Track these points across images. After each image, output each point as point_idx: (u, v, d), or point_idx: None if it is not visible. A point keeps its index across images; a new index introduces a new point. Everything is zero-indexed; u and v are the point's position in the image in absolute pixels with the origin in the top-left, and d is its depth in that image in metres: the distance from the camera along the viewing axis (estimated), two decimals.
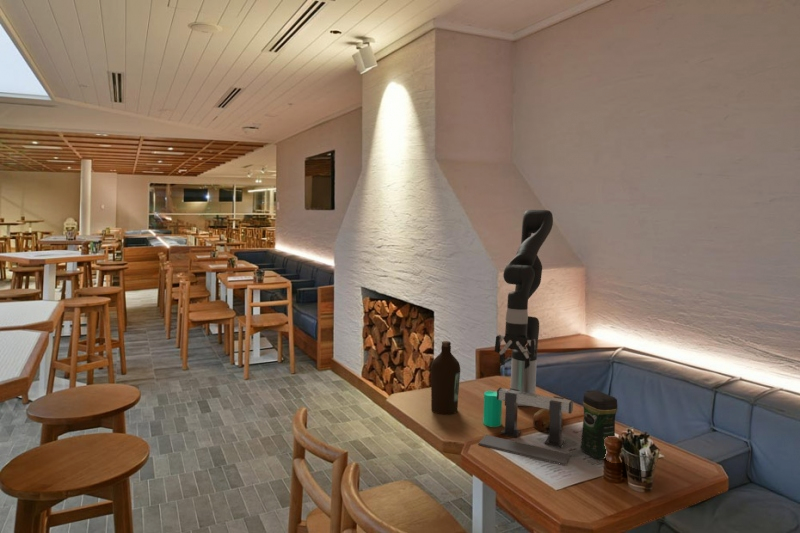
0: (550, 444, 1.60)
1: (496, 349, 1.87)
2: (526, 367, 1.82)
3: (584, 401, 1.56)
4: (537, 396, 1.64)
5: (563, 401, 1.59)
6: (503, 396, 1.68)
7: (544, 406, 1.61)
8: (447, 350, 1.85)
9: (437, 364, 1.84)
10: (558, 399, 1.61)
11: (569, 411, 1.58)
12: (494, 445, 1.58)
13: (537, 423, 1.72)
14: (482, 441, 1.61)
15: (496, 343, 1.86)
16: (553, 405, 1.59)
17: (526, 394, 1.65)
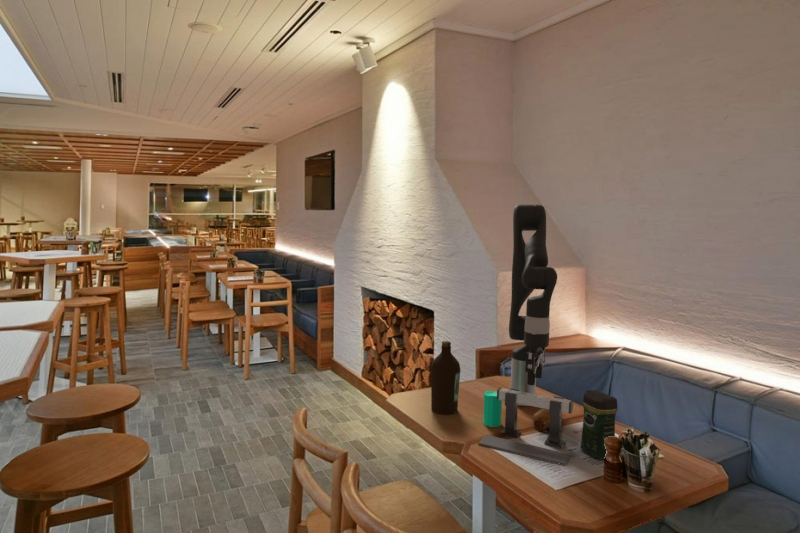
0: (550, 444, 1.60)
1: (534, 369, 1.57)
2: (541, 376, 1.67)
3: (584, 401, 1.56)
4: (537, 396, 1.64)
5: (563, 401, 1.59)
6: (503, 396, 1.68)
7: (544, 406, 1.61)
8: (448, 350, 1.85)
9: (437, 364, 1.84)
10: (558, 399, 1.61)
11: (569, 411, 1.58)
12: (494, 445, 1.58)
13: (537, 423, 1.72)
14: (482, 441, 1.61)
15: (534, 362, 1.57)
16: (553, 405, 1.59)
17: (526, 394, 1.65)
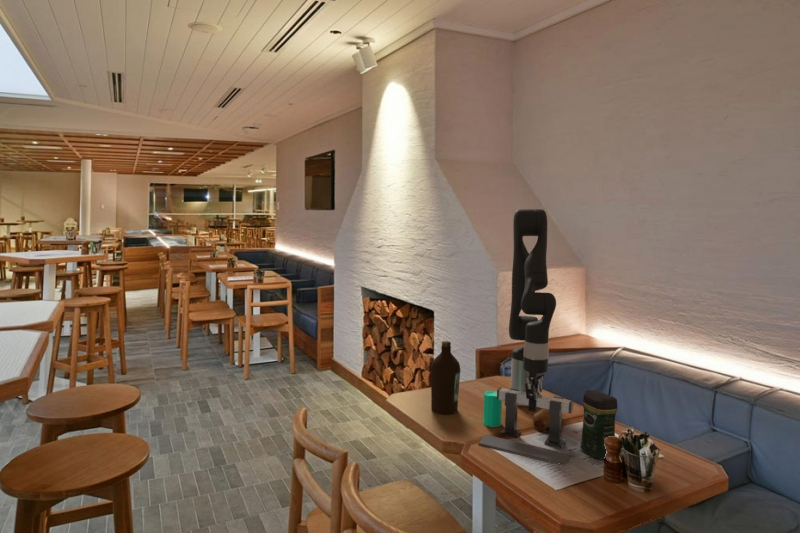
0: (550, 444, 1.60)
1: (534, 396, 1.60)
2: None
3: (584, 401, 1.56)
4: (537, 396, 1.64)
5: (563, 401, 1.59)
6: (503, 396, 1.68)
7: (544, 406, 1.61)
8: (448, 350, 1.85)
9: (437, 364, 1.84)
10: (558, 399, 1.61)
11: (569, 411, 1.58)
12: (494, 445, 1.58)
13: (537, 423, 1.72)
14: (482, 441, 1.61)
15: (534, 392, 1.59)
16: (553, 405, 1.59)
17: None
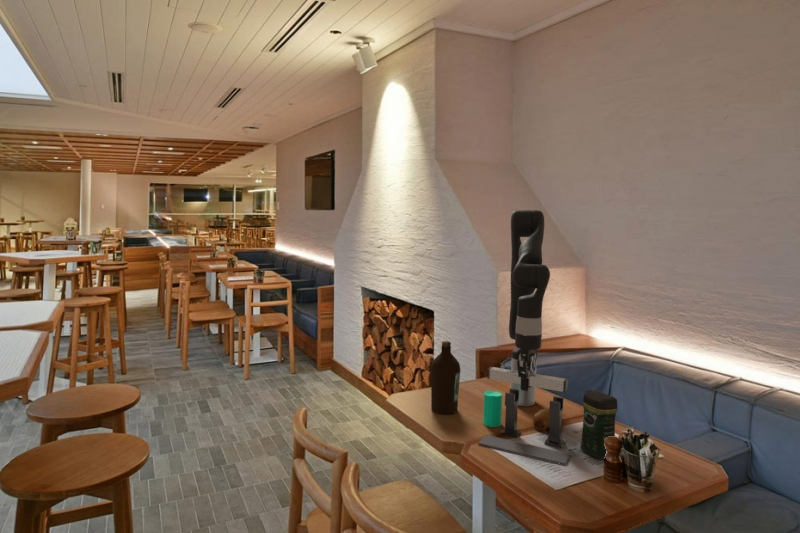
0: (550, 444, 1.60)
1: (527, 374, 1.51)
2: None
3: (584, 401, 1.56)
4: (529, 374, 1.54)
5: (557, 380, 1.49)
6: (494, 375, 1.58)
7: (538, 385, 1.52)
8: (448, 350, 1.85)
9: (437, 364, 1.84)
10: (552, 377, 1.51)
11: (564, 390, 1.48)
12: (494, 445, 1.58)
13: (537, 424, 1.72)
14: (482, 441, 1.61)
15: (526, 369, 1.49)
16: (553, 405, 1.59)
17: None
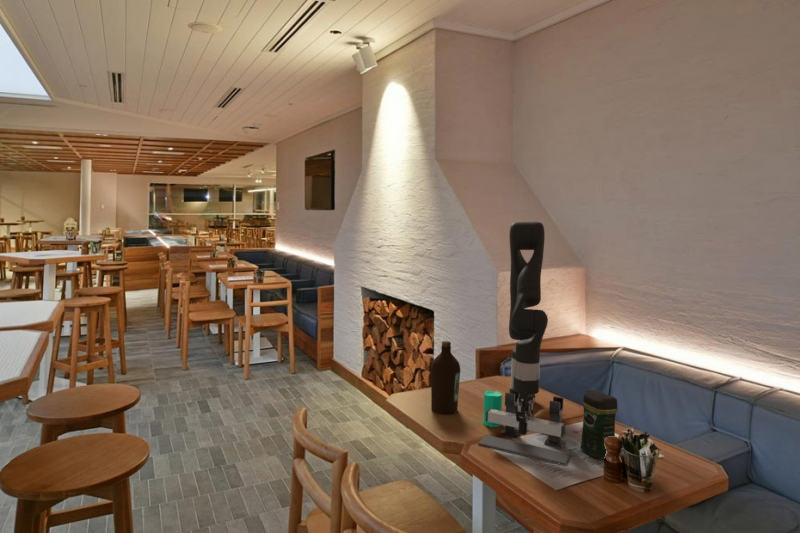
0: (550, 444, 1.60)
1: (525, 419, 1.52)
2: None
3: (584, 401, 1.56)
4: (527, 418, 1.55)
5: (555, 425, 1.50)
6: (492, 418, 1.59)
7: (535, 429, 1.53)
8: (448, 350, 1.85)
9: (437, 364, 1.84)
10: (550, 422, 1.53)
11: (561, 435, 1.49)
12: (494, 445, 1.58)
13: None
14: (482, 441, 1.61)
15: (524, 414, 1.50)
16: (553, 405, 1.59)
17: None
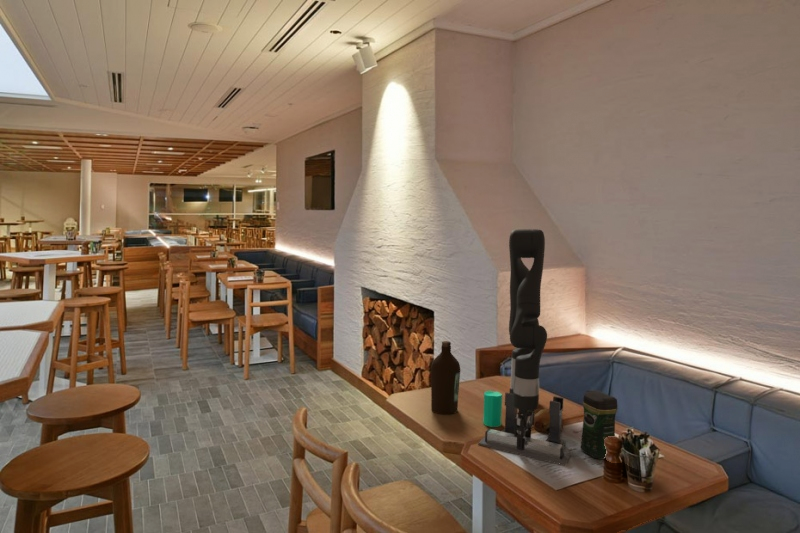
0: None
1: (523, 435, 1.51)
2: None
3: (584, 401, 1.56)
4: (527, 439, 1.56)
5: (554, 446, 1.51)
6: (492, 438, 1.60)
7: (535, 450, 1.54)
8: (448, 350, 1.85)
9: (437, 364, 1.84)
10: (549, 443, 1.53)
11: (560, 457, 1.50)
12: (494, 445, 1.58)
13: (537, 424, 1.71)
14: (482, 441, 1.61)
15: (522, 428, 1.50)
16: (553, 405, 1.59)
17: None
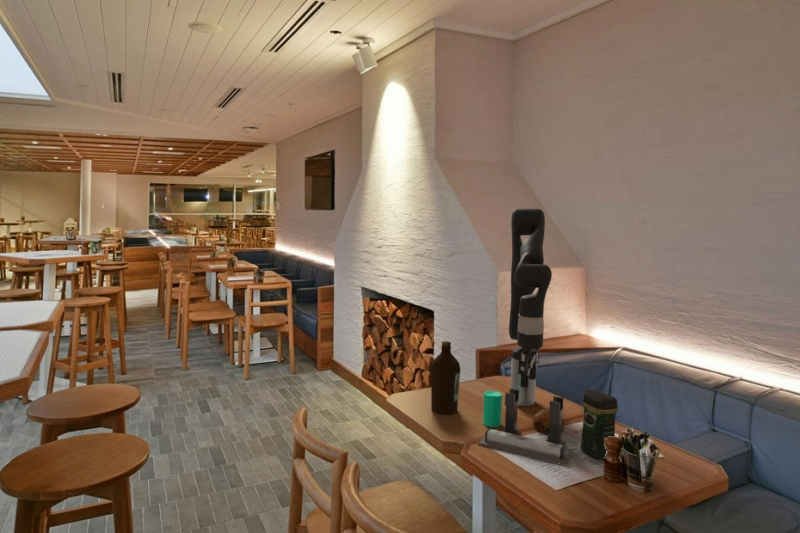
0: None
1: (527, 371, 1.51)
2: (535, 377, 1.61)
3: (584, 401, 1.56)
4: (527, 439, 1.56)
5: (554, 446, 1.51)
6: (492, 438, 1.60)
7: (535, 450, 1.54)
8: (448, 350, 1.85)
9: (437, 364, 1.84)
10: (549, 443, 1.53)
11: (560, 457, 1.50)
12: (494, 445, 1.58)
13: (537, 424, 1.71)
14: (482, 441, 1.61)
15: (527, 364, 1.50)
16: (553, 405, 1.59)
17: (516, 436, 1.58)
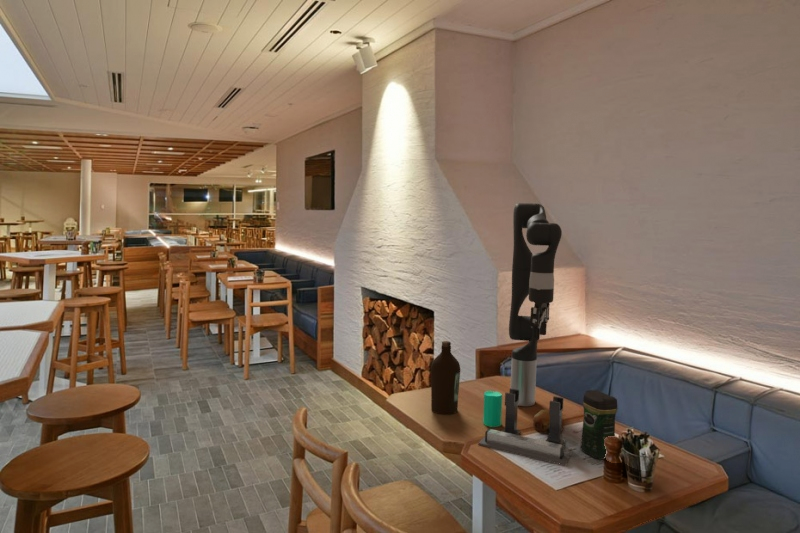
0: None
1: (538, 324, 1.59)
2: None
3: (584, 401, 1.56)
4: (527, 439, 1.56)
5: (554, 446, 1.51)
6: (492, 438, 1.60)
7: (535, 450, 1.54)
8: (448, 350, 1.85)
9: (437, 364, 1.84)
10: (549, 443, 1.53)
11: (560, 457, 1.50)
12: (494, 445, 1.58)
13: (537, 424, 1.71)
14: (482, 441, 1.61)
15: (538, 317, 1.58)
16: (553, 405, 1.59)
17: (516, 436, 1.58)
